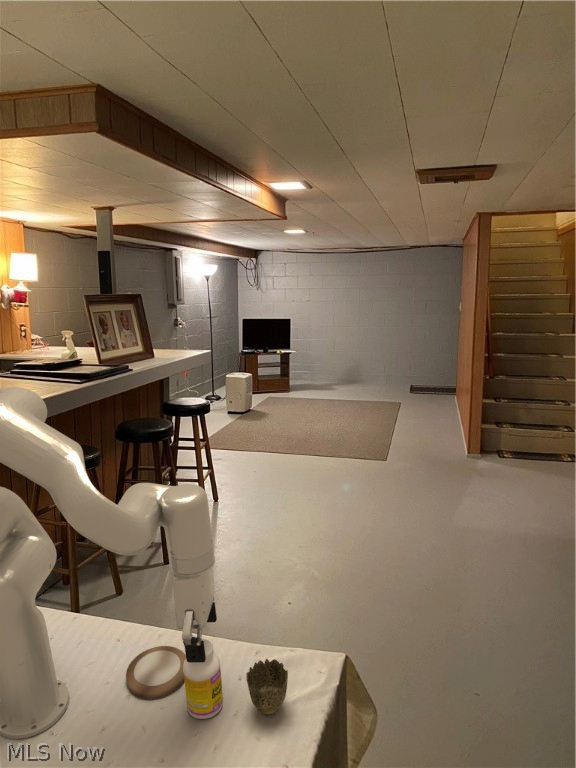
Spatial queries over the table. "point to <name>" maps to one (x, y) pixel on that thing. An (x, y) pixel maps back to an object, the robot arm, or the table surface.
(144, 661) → the plate
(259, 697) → the brown scalloped shell
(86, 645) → the table surface
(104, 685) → the table surface
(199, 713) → the supplement bottle
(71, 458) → the robot arm
